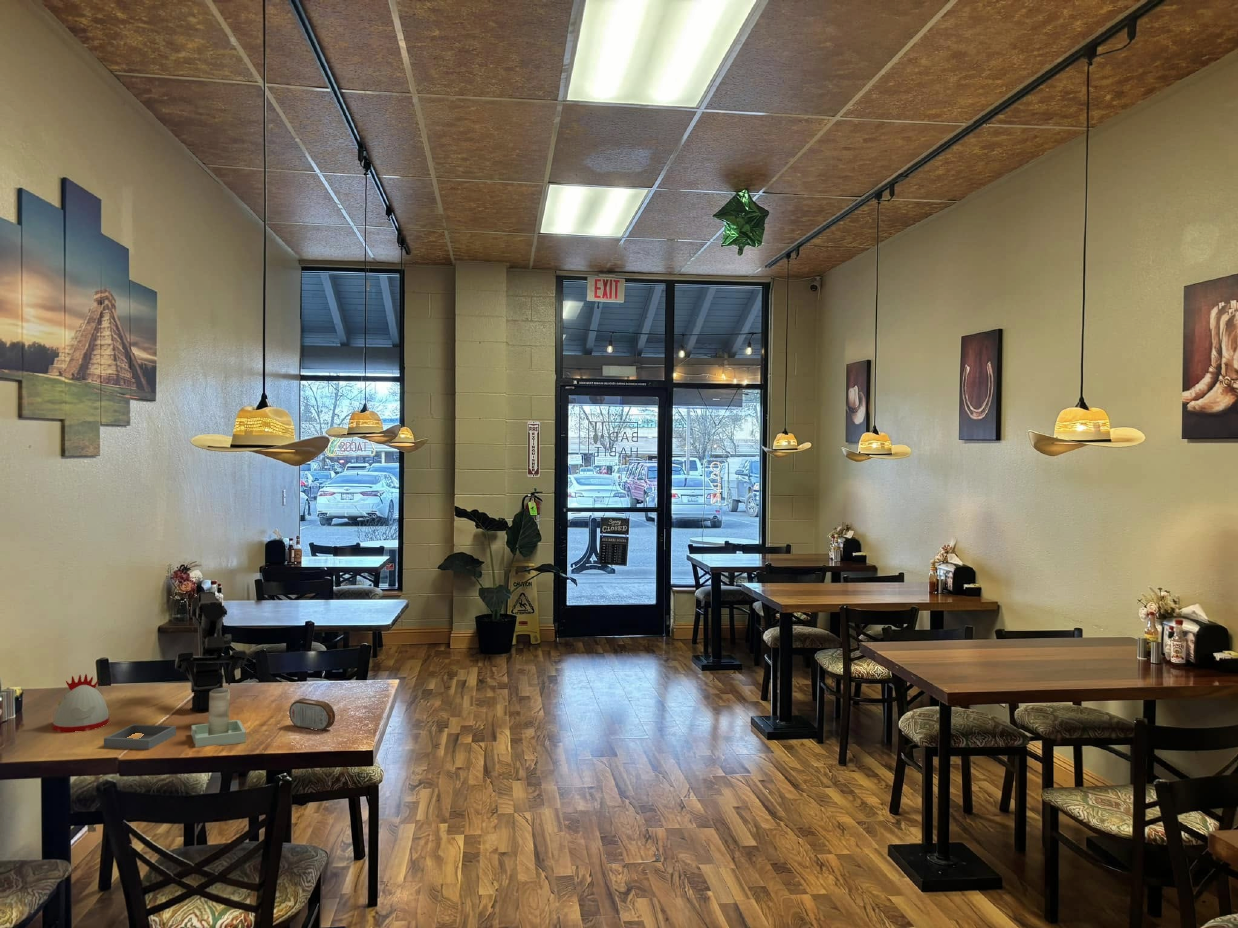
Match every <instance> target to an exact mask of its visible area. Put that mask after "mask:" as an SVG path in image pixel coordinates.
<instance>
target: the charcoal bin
mask: <svg viewBox="0 0 1238 928" xmlns="http://www.w3.org/2000/svg"><path fill="white" fill-rule="evenodd" d="M135 733H142V734H144V735H143V736H142V737H141V738H139V739H133V738H127V737H129V736H131V735H132V734H135ZM176 735H177V726H176V725H159V724H158V725H157V724H140V723H139V724H135V723H133V724H131V725H129V726H127V727H124V728H123V729H120V730H117V732H113V733H112V734H110V735H107V736H105V737H104V738H103V748H105V749H124V750H127V749H128V750H147V751H149V750H151V749H153V748H155V747H157V746H158V745H160V744H163V743H164V742H166V741H168V740H170V739H172V738H174V737H175V736H176Z"/></svg>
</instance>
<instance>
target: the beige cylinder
mask: <svg viewBox="0 0 1238 928" xmlns="http://www.w3.org/2000/svg"><path fill="white" fill-rule="evenodd" d="M230 693H231V692H230V689H229V688H227V687H226V688H225V687H223V688H217V689H213V690H211V691H210V692H209V711H208V723H207V724H208V736H210V735H218V734H225V733H228V729H229V721H230V698H231V694H230Z"/></svg>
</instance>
